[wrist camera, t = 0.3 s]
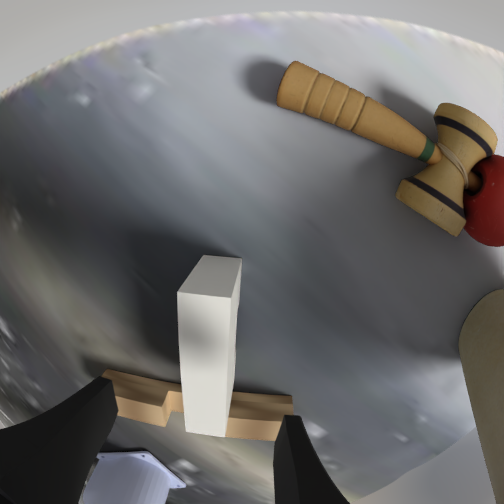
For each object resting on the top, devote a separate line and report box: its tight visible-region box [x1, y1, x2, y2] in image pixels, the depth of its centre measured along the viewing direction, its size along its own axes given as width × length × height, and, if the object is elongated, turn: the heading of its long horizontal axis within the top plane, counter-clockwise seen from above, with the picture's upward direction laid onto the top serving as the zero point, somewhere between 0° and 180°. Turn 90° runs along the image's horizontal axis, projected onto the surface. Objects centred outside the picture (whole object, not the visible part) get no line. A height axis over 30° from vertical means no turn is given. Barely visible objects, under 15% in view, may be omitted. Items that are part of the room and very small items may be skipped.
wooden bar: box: [101, 369, 293, 441], centre depth 21 cm, size 16×2×3 cm, turn 86°
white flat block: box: [177, 255, 242, 437], centre depth 18 cm, size 2×10×6 cm, turn 175°
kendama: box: [276, 61, 504, 247], centre depth 14 cm, size 8×6×18 cm
